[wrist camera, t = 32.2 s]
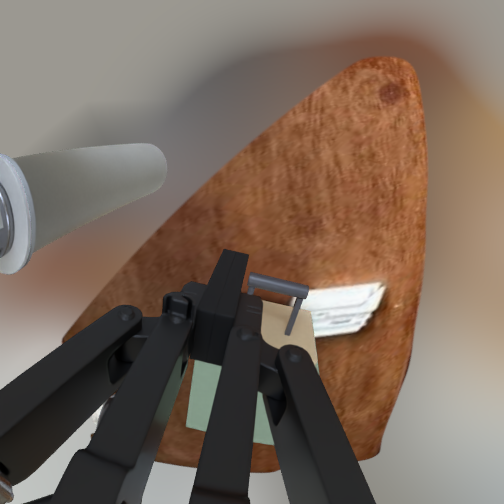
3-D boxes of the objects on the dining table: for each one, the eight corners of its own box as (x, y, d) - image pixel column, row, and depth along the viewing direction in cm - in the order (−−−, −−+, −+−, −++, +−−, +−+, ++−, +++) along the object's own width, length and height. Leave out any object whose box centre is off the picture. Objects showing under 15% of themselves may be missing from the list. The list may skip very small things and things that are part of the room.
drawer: (233, 245, 35) (215, 282, 25) (326, 268, 34) (340, 311, 25) (208, 365, 42) (193, 413, 33) (281, 381, 42) (280, 432, 33)
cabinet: (218, 293, 38) (196, 349, 27) (311, 315, 38) (319, 376, 27) (204, 370, 43) (185, 426, 33) (281, 387, 43) (279, 446, 33)
